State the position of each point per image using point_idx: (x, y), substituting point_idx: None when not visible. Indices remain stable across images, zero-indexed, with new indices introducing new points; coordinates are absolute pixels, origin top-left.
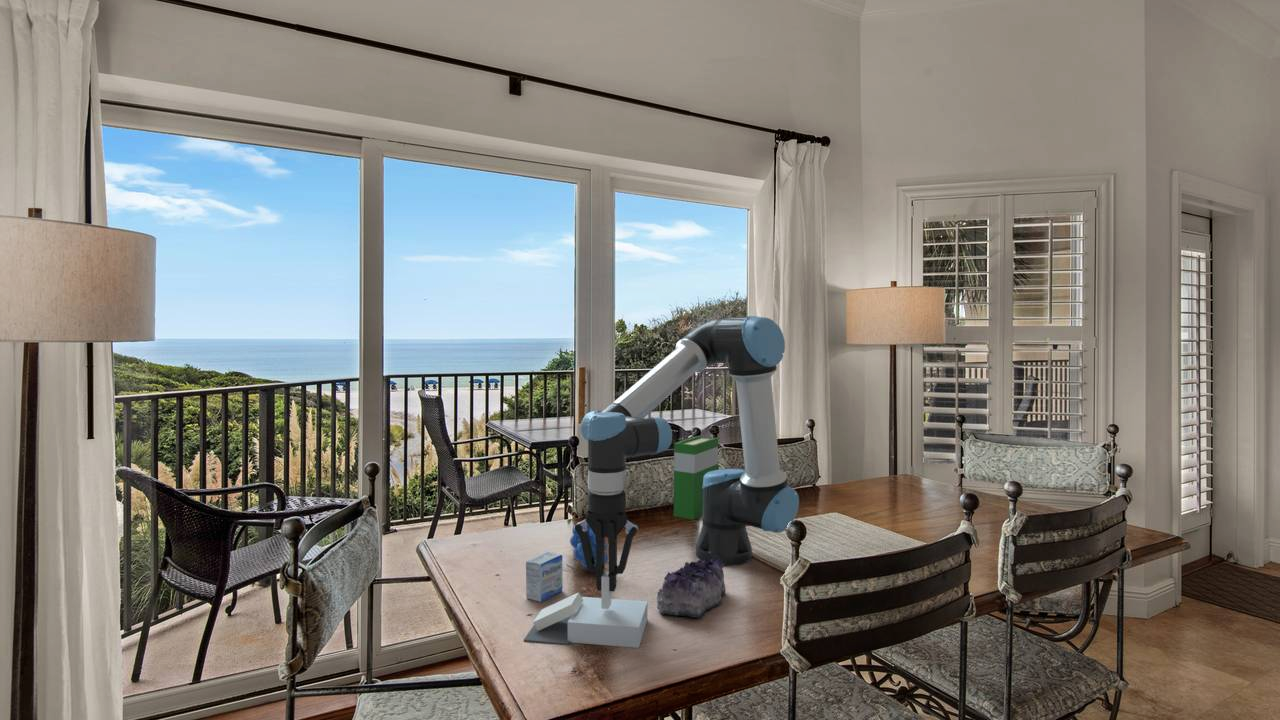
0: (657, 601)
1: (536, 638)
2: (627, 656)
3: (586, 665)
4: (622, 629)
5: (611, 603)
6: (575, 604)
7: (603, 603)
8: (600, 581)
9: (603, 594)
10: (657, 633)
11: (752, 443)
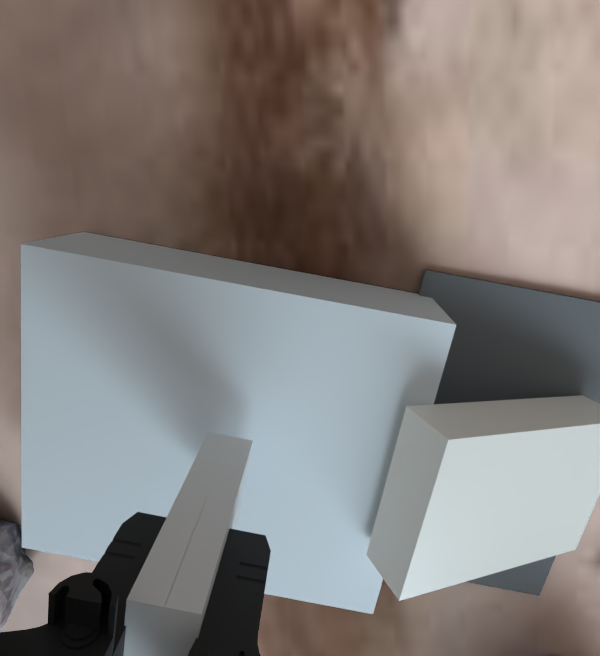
0: (6, 583)
1: (590, 323)
2: (129, 148)
3: (329, 51)
4: (128, 259)
5: None
6: (416, 471)
7: (233, 456)
8: (227, 588)
9: (220, 493)
10: (16, 368)
11: None
